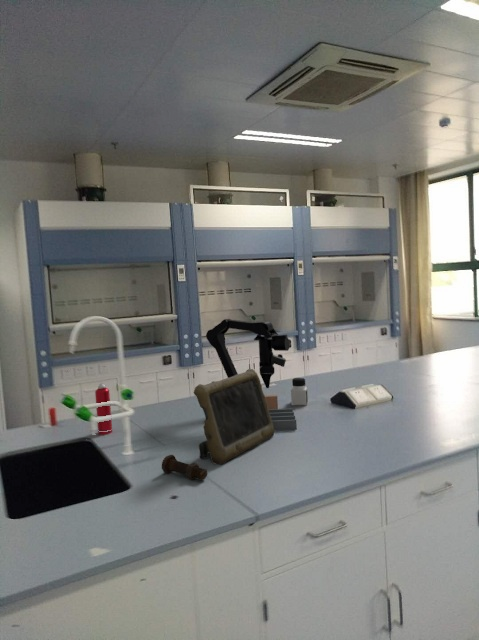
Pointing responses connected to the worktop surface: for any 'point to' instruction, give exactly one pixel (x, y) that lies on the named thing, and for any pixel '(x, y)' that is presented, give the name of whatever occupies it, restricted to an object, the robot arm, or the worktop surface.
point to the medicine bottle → (299, 392)
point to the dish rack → (283, 419)
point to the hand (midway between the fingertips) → (267, 385)
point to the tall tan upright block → (271, 401)
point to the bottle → (103, 408)
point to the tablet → (233, 416)
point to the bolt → (183, 468)
